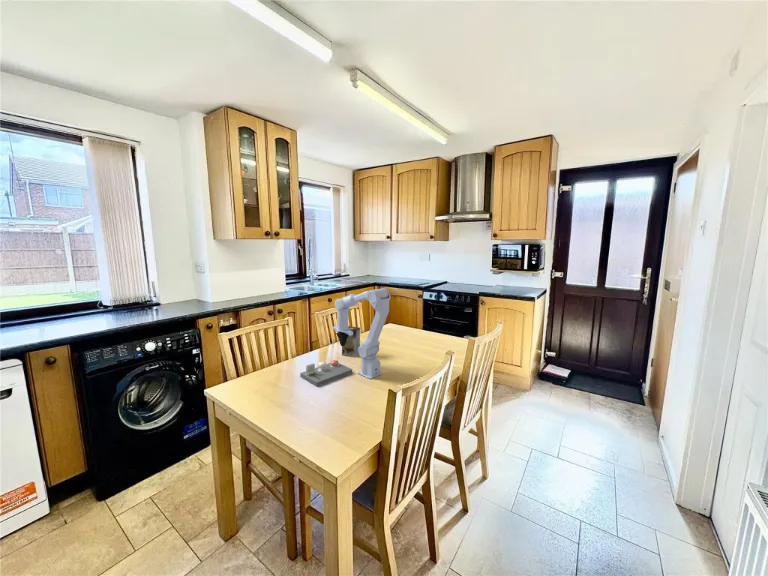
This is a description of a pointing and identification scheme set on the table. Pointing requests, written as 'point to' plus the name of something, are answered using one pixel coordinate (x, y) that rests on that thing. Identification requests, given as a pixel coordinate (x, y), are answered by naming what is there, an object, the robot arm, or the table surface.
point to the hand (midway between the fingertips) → (342, 345)
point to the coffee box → (352, 343)
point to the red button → (334, 363)
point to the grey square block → (310, 369)
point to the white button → (322, 365)
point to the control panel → (326, 374)
